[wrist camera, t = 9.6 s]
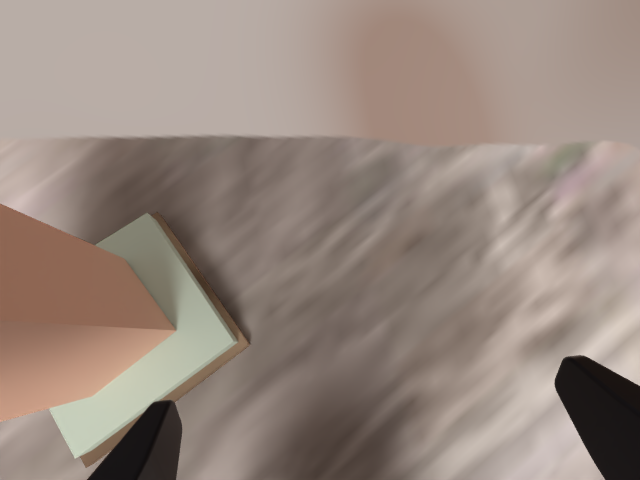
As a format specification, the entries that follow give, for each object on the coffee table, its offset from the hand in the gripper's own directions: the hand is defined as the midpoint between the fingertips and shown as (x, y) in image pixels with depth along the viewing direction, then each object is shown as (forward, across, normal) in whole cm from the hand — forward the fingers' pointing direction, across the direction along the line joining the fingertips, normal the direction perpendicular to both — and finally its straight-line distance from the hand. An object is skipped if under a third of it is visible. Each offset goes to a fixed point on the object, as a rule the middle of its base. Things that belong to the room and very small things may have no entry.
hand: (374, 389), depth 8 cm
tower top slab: (+11, +11, +7) cm, 17 cm away
